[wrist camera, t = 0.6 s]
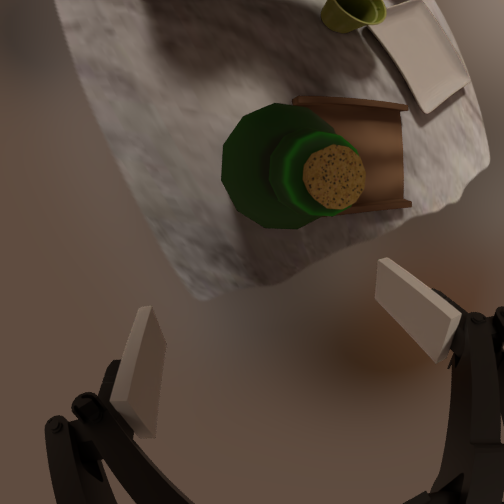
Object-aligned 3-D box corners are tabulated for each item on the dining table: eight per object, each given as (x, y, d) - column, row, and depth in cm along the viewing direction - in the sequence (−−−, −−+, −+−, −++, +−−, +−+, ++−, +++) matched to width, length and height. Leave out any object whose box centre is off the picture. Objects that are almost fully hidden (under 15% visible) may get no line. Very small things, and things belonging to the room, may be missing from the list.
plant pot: (299, 11, 30) (317, -13, 22) (333, -7, 29) (355, -28, 21) (338, 49, 34) (364, 33, 26) (369, 29, 32) (396, 14, 24)
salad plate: (352, 21, 32) (361, 14, 29) (412, 1, 30) (421, -3, 27) (414, 117, 40) (426, 116, 36) (461, 81, 37) (472, 80, 34)
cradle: (291, 99, 36) (298, 95, 33) (397, 106, 38) (407, 105, 35) (301, 214, 43) (308, 218, 40) (401, 203, 45) (411, 207, 42)
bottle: (255, 111, 36) (344, 39, 10) (301, 164, 40) (439, 195, 14) (199, 158, 37) (177, 167, 11) (248, 210, 41) (317, 313, 15)
